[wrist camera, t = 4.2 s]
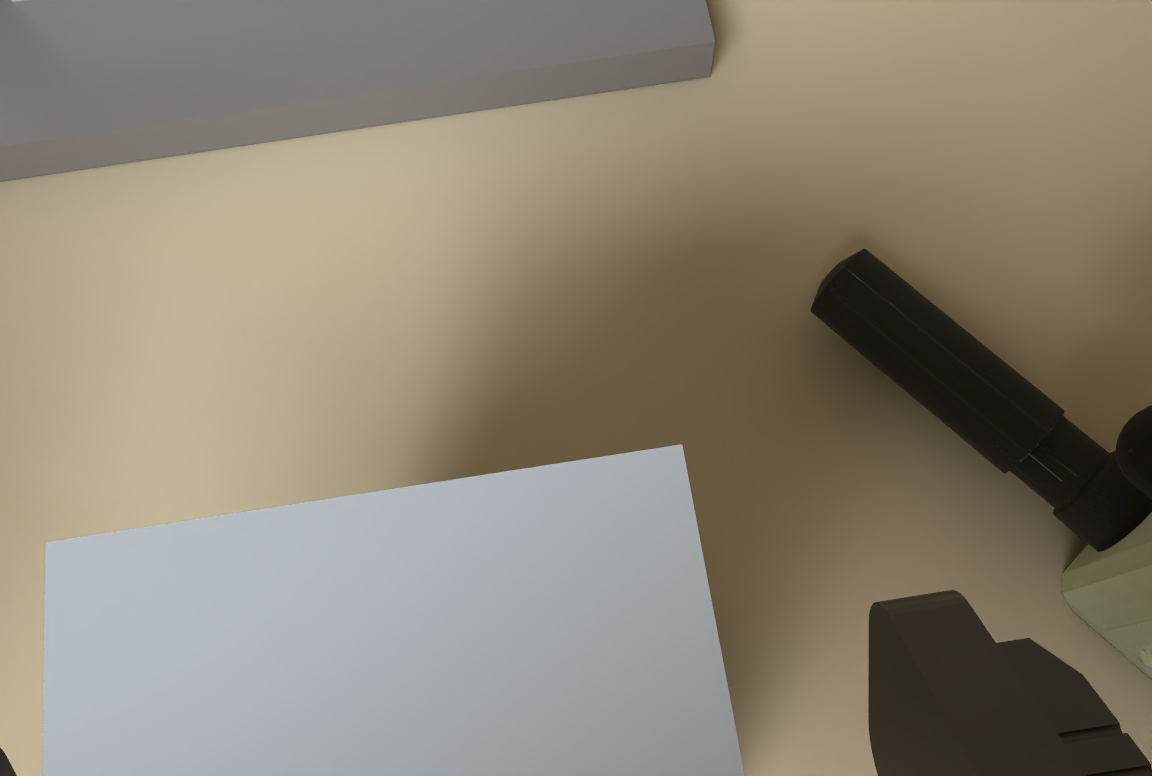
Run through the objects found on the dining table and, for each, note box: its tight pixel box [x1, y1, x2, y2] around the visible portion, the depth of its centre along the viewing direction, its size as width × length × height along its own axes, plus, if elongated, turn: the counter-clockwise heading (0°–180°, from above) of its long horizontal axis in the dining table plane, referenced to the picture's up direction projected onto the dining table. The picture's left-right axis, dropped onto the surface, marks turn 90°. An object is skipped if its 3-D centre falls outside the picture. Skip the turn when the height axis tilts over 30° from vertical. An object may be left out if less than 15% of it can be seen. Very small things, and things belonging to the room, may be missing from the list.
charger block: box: [42, 444, 745, 776], centre depth 11 cm, size 4×4×9 cm
